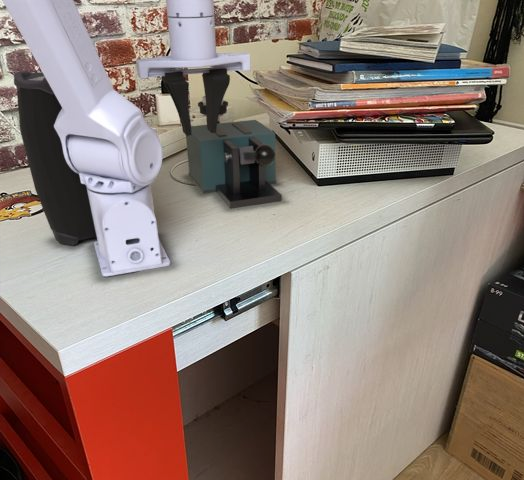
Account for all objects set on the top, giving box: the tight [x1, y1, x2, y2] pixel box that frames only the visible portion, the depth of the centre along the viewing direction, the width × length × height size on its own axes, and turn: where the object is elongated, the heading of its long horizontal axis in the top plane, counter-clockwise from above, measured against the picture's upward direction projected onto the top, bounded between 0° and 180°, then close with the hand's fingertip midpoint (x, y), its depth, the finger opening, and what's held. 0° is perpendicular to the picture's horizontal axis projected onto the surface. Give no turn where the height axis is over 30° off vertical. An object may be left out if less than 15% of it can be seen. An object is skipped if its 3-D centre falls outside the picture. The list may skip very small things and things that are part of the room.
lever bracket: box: [215, 137, 282, 210], centre depth 81 cm, size 10×8×8 cm
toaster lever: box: [238, 144, 276, 167], centre depth 76 cm, size 12×3×3 cm, turn 20°
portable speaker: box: [13, 70, 97, 247], centre depth 66 cm, size 9×9×20 cm
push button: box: [197, 95, 229, 124], centre depth 97 cm, size 7×5×10 cm
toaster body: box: [185, 119, 277, 195], centre depth 86 cm, size 9×12×8 cm
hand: (199, 132), depth 74 cm, fingers open, 3 cm apart
